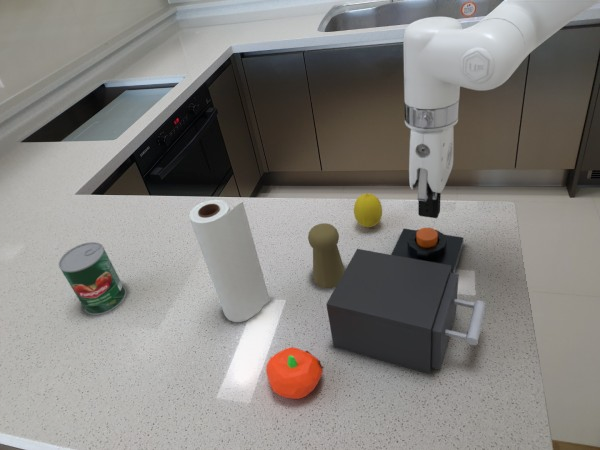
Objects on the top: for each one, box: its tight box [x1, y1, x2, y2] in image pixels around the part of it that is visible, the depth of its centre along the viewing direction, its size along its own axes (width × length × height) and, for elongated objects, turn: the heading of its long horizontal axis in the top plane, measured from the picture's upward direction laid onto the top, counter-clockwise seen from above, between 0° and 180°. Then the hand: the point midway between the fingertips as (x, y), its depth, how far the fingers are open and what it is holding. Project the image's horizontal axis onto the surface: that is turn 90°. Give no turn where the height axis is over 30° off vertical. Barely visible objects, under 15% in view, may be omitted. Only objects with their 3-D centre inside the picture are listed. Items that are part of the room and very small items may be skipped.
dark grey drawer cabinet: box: [326, 248, 451, 375], centre depth 69 cm, size 15×13×10 cm
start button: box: [416, 227, 438, 248], centre depth 81 cm, size 4×4×2 cm
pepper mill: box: [307, 223, 346, 289], centre depth 80 cm, size 6×6×11 cm
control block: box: [390, 228, 464, 274], centre depth 82 cm, size 11×9×4 cm
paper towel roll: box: [188, 199, 271, 323], centre depth 73 cm, size 7×6×21 cm
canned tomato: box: [58, 241, 127, 316], centre depth 84 cm, size 8×8×11 cm
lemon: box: [353, 192, 383, 228], centre depth 91 cm, size 6×6×8 cm
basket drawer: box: [431, 273, 487, 371], centre depth 67 cm, size 18×11×8 cm, turn 64°
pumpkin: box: [265, 346, 324, 400], centre depth 64 cm, size 7×8×6 cm
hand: (429, 214), depth 77 cm, fingers closed
